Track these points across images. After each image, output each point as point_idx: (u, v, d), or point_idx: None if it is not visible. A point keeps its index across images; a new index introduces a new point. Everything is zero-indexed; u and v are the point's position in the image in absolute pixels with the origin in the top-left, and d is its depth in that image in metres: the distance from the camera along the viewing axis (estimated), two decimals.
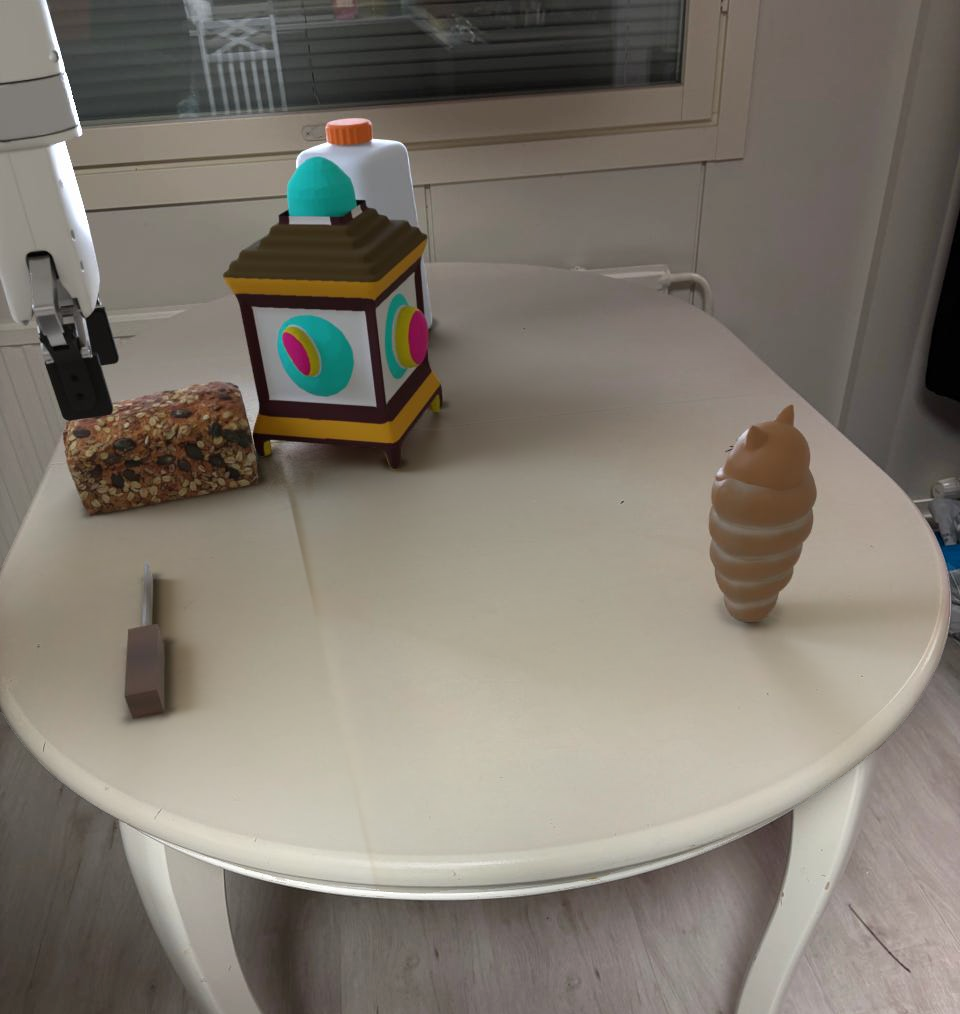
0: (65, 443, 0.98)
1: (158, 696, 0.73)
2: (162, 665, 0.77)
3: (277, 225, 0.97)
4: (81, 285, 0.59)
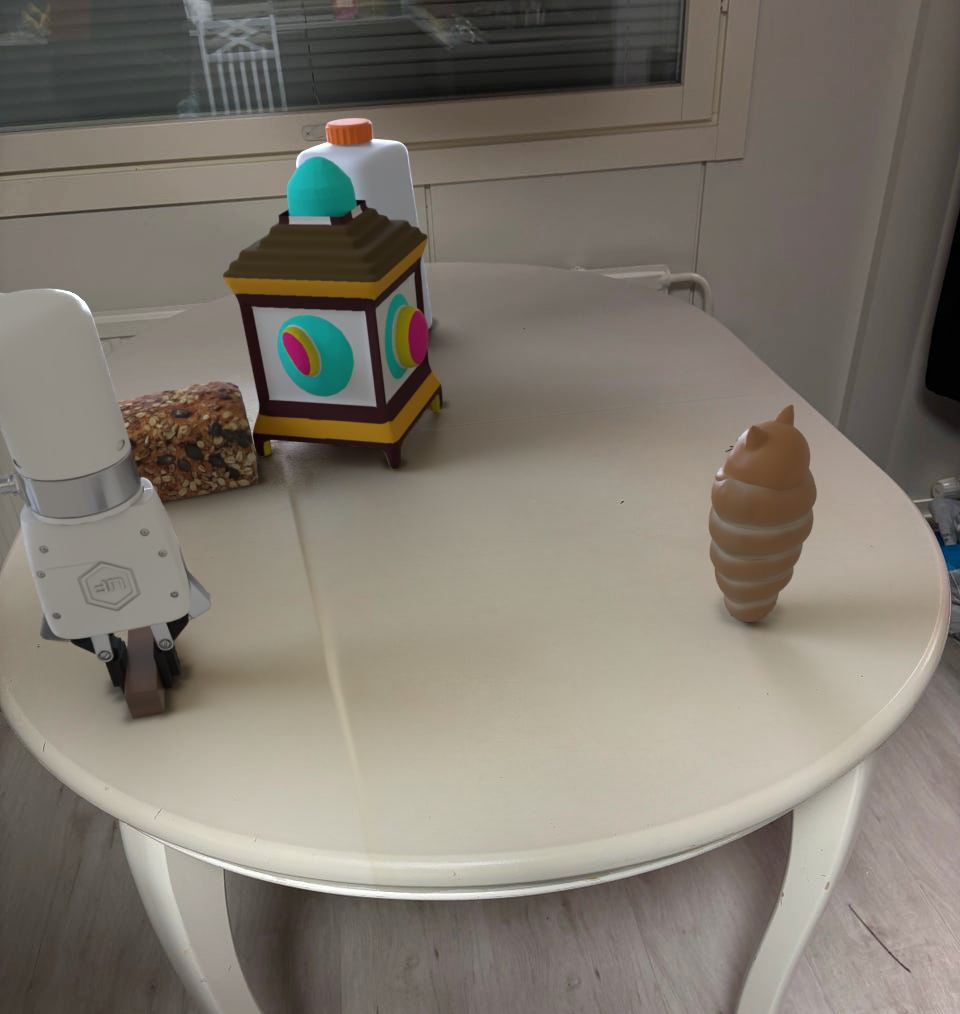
0: None
1: (158, 696, 0.73)
2: None
3: (277, 225, 0.97)
4: None
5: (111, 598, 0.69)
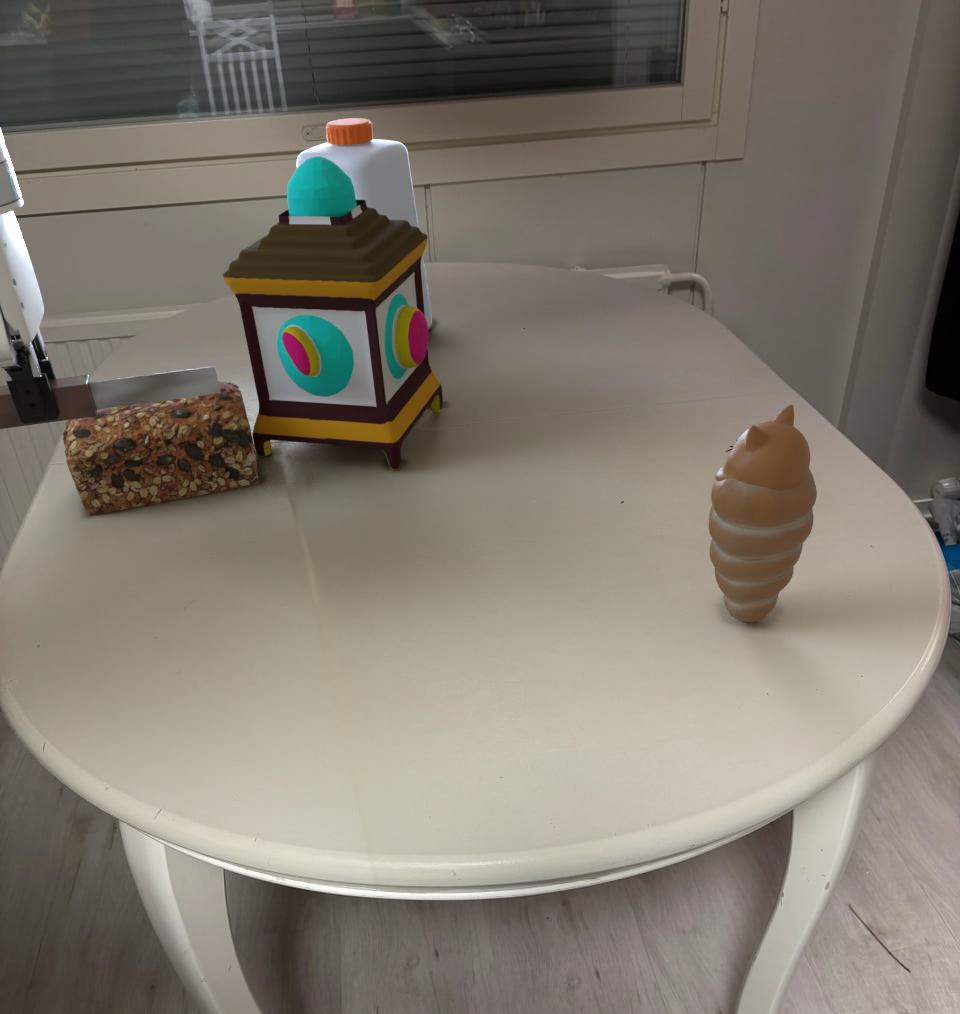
0: (65, 443, 0.98)
1: None
2: None
3: (277, 225, 0.97)
4: (21, 321, 0.76)
5: None
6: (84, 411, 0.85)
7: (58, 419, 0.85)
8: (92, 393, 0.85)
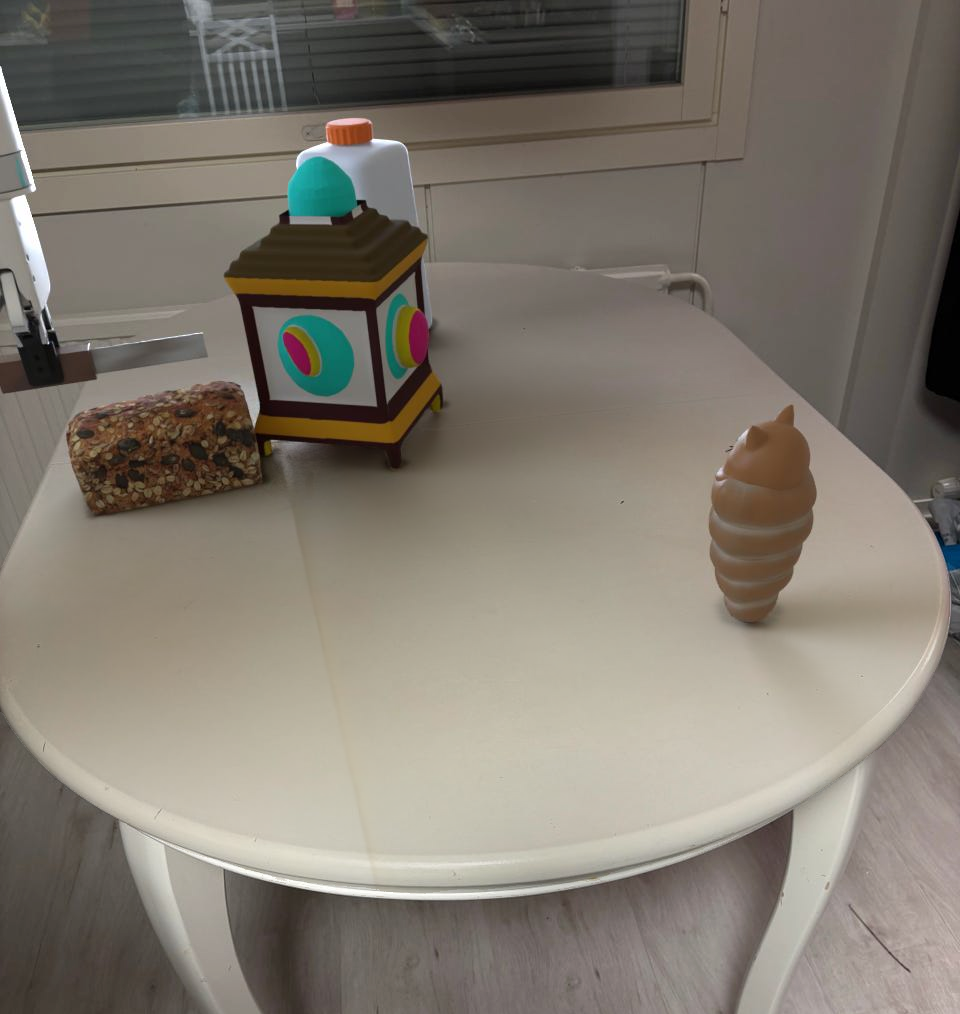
0: (69, 444, 0.97)
1: None
2: None
3: (278, 225, 0.97)
4: (33, 292, 0.86)
5: None
6: (86, 375, 0.95)
7: (63, 383, 0.95)
8: (93, 359, 0.95)
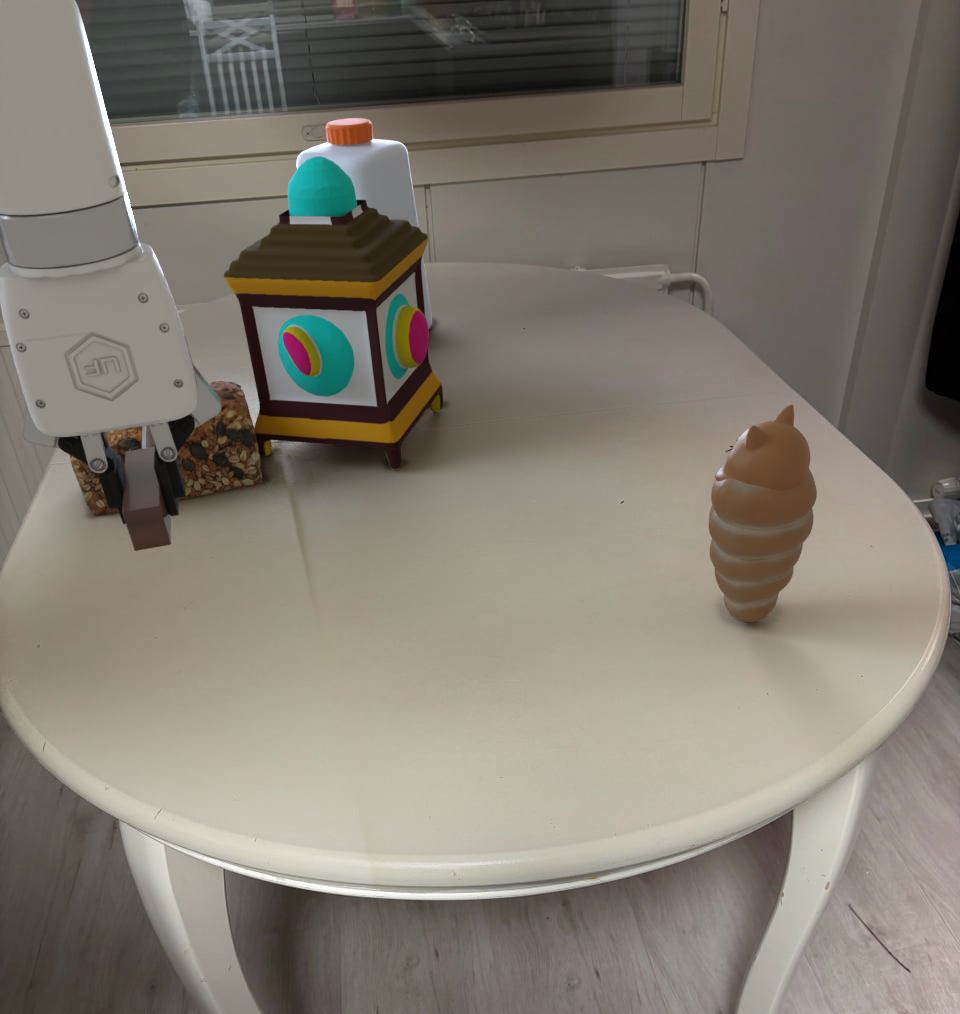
0: None
1: (161, 514, 0.63)
2: None
3: (278, 225, 0.97)
4: None
5: (104, 384, 0.59)
6: None
7: None
8: None
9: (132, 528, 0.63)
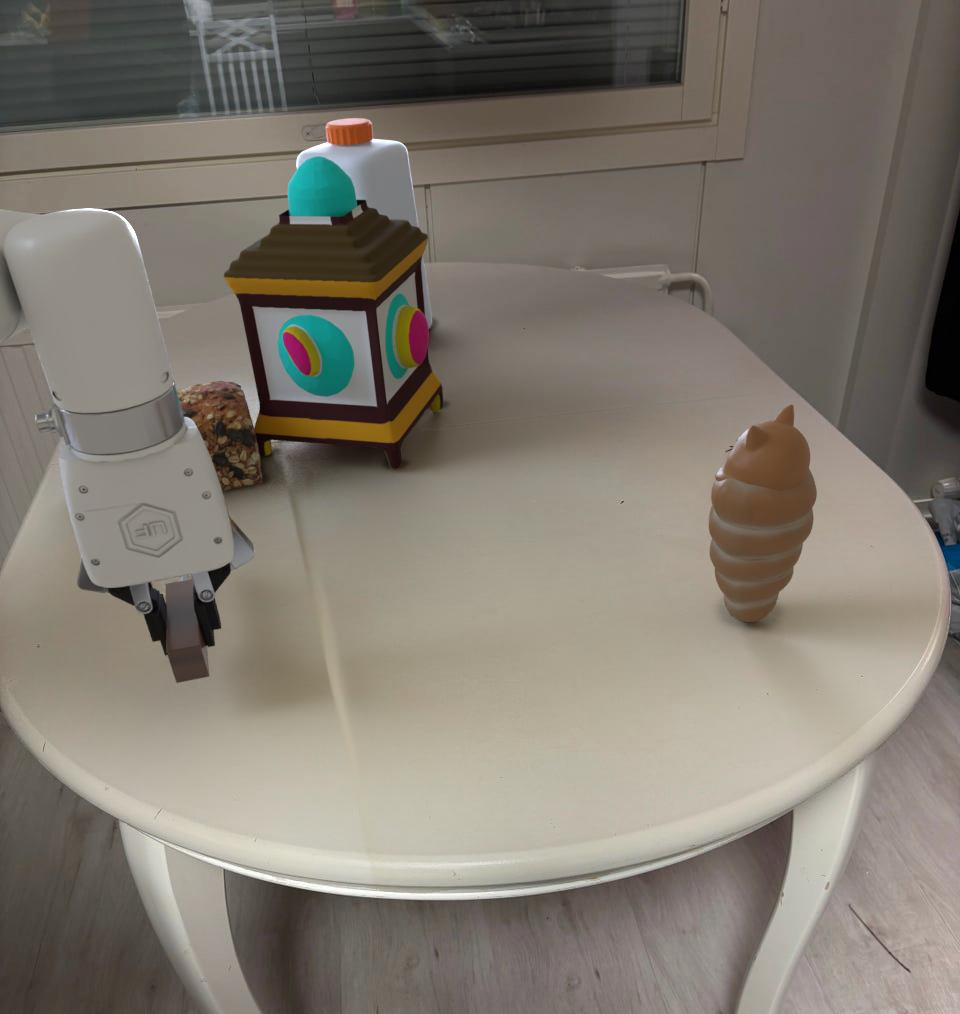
0: None
1: (201, 652, 0.70)
2: None
3: (278, 225, 0.97)
4: None
5: (152, 543, 0.66)
6: None
7: None
8: None
9: (175, 664, 0.70)
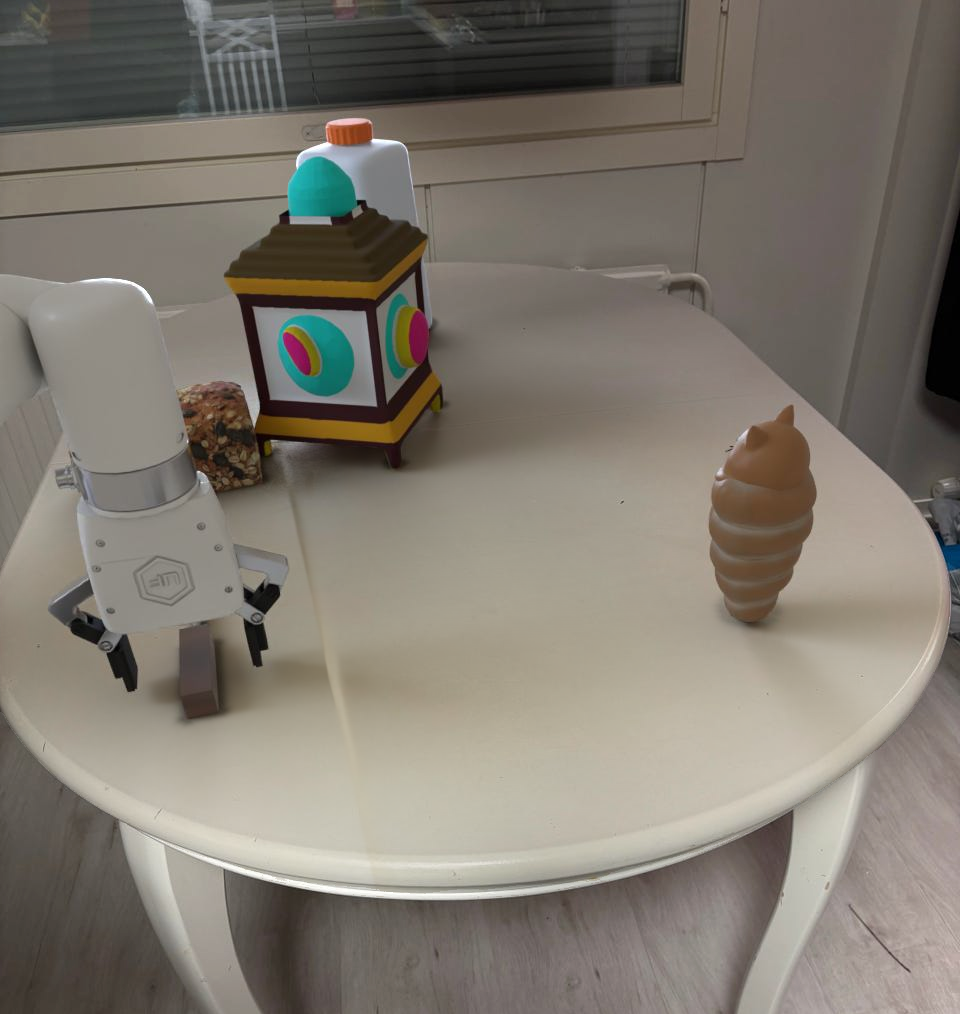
0: None
1: (213, 696, 0.72)
2: (214, 665, 0.77)
3: (278, 225, 0.97)
4: None
5: (165, 593, 0.68)
6: None
7: None
8: None
9: (188, 708, 0.72)
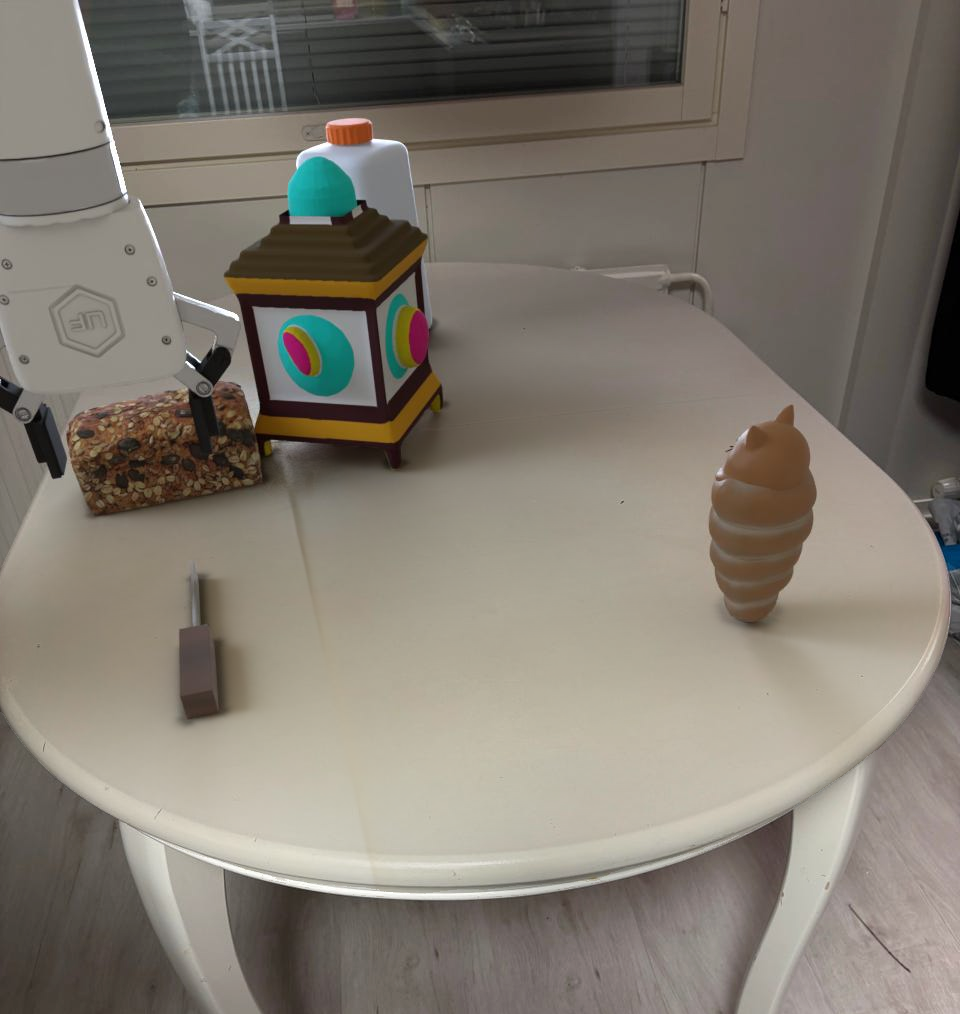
0: (69, 444, 0.97)
1: (213, 696, 0.72)
2: (214, 665, 0.77)
3: (278, 225, 0.97)
4: None
5: (90, 340, 0.57)
6: None
7: None
8: None
9: (188, 708, 0.72)
